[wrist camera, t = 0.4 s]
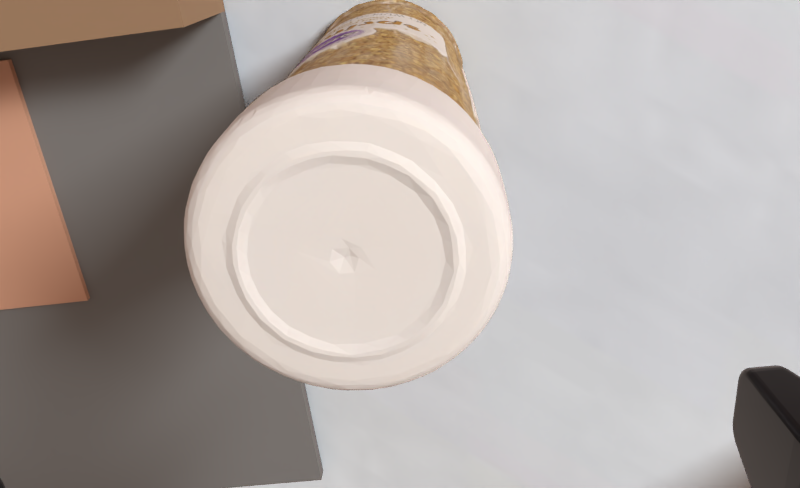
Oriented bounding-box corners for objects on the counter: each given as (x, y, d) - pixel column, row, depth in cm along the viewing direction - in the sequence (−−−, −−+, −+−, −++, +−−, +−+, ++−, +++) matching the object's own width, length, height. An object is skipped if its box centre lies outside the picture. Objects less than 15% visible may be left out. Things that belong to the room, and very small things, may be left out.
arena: (323, 470, 28) (308, 552, 24) (-76, 505, 29) (-147, 587, 25) (215, -33, 21) (172, -25, 17) (-303, 40, 22) (-447, 61, 18)
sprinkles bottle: (386, -38, 21) (335, 5, 8) (495, 77, 22) (591, 261, 10) (281, 78, 22) (105, 259, 10) (389, 179, 23) (354, 456, 11)
